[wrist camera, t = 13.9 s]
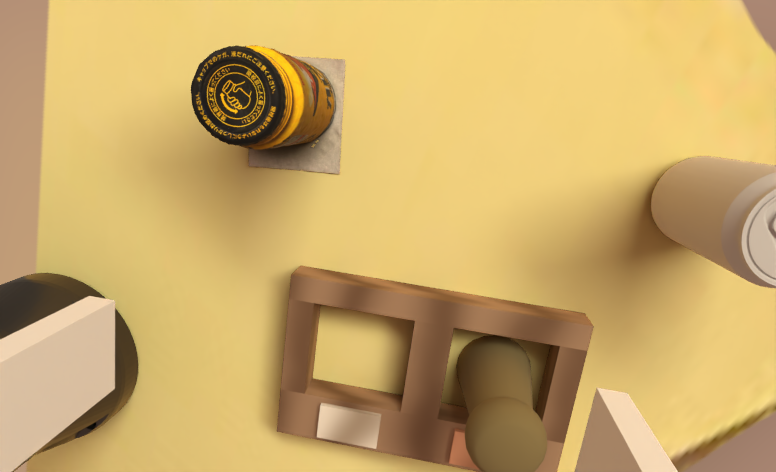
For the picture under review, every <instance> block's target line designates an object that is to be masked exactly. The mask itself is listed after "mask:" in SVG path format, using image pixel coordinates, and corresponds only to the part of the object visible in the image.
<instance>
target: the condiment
mask: <svg viewBox="0 0 776 472" xmlns="http://www.w3.org/2000/svg"><path fill="white" fill-rule="evenodd" d="M344 78H345V60H342V59H326V58H310V57H295V56H289V55H285V54H282V53H280V52H278V51H276V50H274V49H269V48H265V47H260V46H245V47H241V46H232V47H231V46H229V47H226V48H223V49H220V50H217V51H215V52H213V53H212V54H210V55H209V56H208V57H207V58H206V59H205V60H204V61H203V62H202V63H200V65H199V67H198V69H197V71H196V74H195V76H194V79H193V81H192V85H191V94H192V105H193V108H194V111H195V114H196V116H197V118H198V120H199V122H200V123H201V124H202V125H203V126H204V127H205V128H206V130H207V131H209V132H210V133H211V135H212V136H214V137H215V138H218V139H219V140H220V141H222V142H226V143H228V144H233V145H239V146H242V147H245V148H249V166H254V167H267V168H279V169H291V170H303V171H313V172H325V173H336V174H339V173H340V154H341V132H342V117H343V98H344ZM316 140H319V142H317V143H315V141H316ZM313 144H316V145H315V146H314V148H313V147H311V146H312V145H313Z"/></svg>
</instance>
